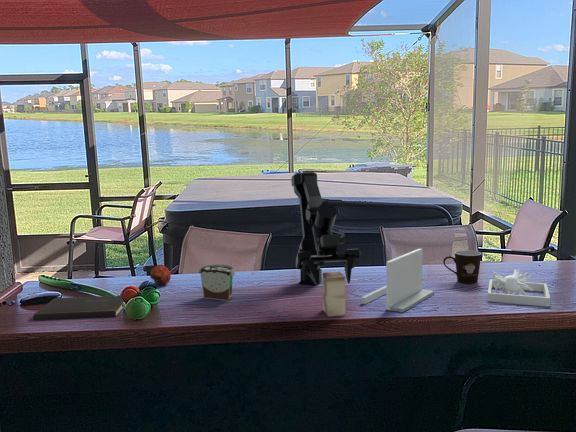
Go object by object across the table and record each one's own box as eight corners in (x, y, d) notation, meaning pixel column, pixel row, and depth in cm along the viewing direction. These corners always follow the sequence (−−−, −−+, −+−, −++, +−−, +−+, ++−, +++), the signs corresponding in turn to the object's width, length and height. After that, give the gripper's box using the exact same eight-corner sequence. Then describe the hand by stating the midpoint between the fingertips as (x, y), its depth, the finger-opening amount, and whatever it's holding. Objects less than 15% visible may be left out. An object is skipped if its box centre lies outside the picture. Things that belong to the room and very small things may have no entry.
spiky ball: (494, 292, 169) (491, 266, 169) (535, 291, 164) (533, 265, 164) (491, 301, 159) (489, 273, 159) (535, 301, 154) (533, 272, 154)
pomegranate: (162, 294, 180) (180, 273, 185) (148, 280, 177) (167, 258, 182) (152, 293, 186) (170, 271, 191) (138, 279, 182) (157, 258, 187)
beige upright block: (323, 309, 152) (322, 272, 151) (339, 308, 153) (339, 271, 152) (328, 316, 146) (327, 277, 145) (345, 315, 147) (345, 276, 146)
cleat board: (359, 304, 156) (359, 258, 154) (393, 287, 173) (393, 245, 172) (403, 312, 148) (403, 264, 146) (434, 294, 165) (434, 250, 163)
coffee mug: (483, 280, 179) (484, 251, 178) (477, 286, 172) (478, 256, 171) (449, 276, 186) (449, 248, 184) (442, 282, 179) (442, 253, 177)
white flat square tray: (487, 301, 156) (487, 293, 156) (489, 286, 171) (489, 279, 171) (549, 306, 150) (550, 298, 149) (546, 291, 165) (546, 283, 165)
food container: (243, 296, 168) (242, 265, 167) (233, 301, 162) (231, 270, 161) (210, 292, 173) (209, 262, 172) (199, 297, 168) (198, 267, 166)
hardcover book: (54, 305, 165) (54, 298, 165) (129, 302, 167) (128, 295, 166) (33, 322, 149) (33, 314, 149) (116, 318, 151) (115, 311, 150)
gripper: (296, 224, 151) (304, 270, 141) (359, 221, 154) (371, 266, 144) (292, 246, 159) (299, 291, 150) (351, 243, 162) (362, 287, 153)
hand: (333, 283), depth 149 cm, fingers open, 9 cm apart
